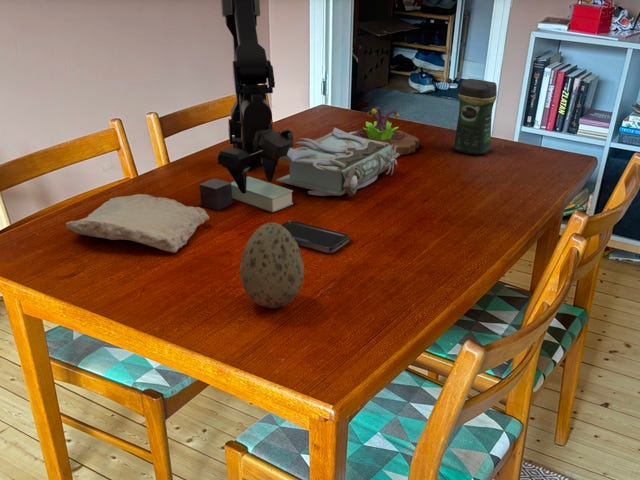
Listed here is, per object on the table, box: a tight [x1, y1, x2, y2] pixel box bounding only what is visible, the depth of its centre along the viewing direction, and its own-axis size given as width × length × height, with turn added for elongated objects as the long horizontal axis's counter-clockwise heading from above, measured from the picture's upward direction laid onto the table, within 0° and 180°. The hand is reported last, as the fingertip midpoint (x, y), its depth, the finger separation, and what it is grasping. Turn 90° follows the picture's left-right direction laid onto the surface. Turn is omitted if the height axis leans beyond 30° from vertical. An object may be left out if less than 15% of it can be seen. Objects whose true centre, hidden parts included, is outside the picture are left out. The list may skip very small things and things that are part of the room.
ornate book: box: [275, 126, 401, 198], centre depth 181 cm, size 23×10×30 cm
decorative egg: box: [239, 222, 305, 309], centre depth 125 cm, size 11×11×15 cm
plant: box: [351, 106, 420, 156], centre depth 201 cm, size 20×20×11 cm
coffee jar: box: [453, 78, 498, 156], centre depth 198 cm, size 10×8×19 cm
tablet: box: [65, 193, 210, 254], centre depth 151 cm, size 24×8×20 cm
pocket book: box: [230, 175, 294, 213], centre depth 169 cm, size 14×7×3 cm, turn 51°
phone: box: [280, 220, 350, 254], centre depth 152 cm, size 8×1×15 cm
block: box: [199, 178, 234, 211], centre depth 166 cm, size 5×5×5 cm
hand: (256, 187), depth 167 cm, fingers open, 9 cm apart
